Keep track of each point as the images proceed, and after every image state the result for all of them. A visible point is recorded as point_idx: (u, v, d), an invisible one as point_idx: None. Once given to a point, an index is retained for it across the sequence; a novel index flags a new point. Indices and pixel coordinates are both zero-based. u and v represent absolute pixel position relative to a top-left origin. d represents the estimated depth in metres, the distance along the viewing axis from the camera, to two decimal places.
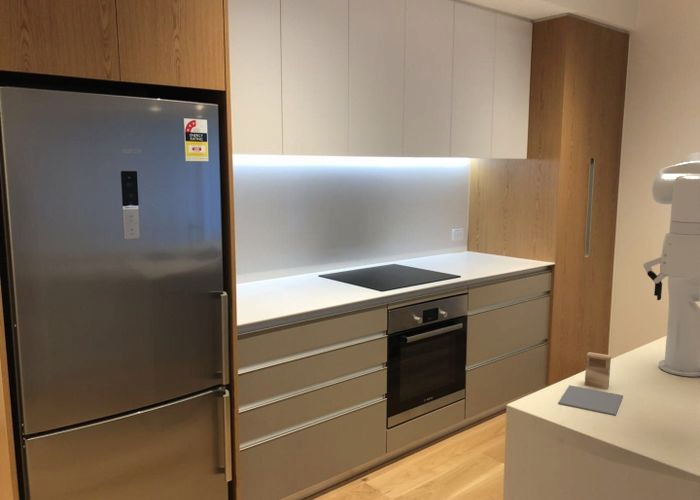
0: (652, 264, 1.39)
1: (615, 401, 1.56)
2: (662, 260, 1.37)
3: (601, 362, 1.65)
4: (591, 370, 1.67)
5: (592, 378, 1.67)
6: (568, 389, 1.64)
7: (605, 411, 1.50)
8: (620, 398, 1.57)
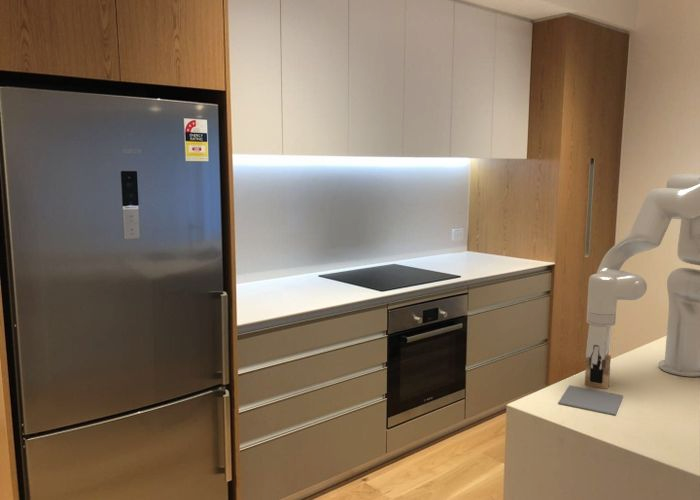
0: (598, 358, 1.62)
1: (615, 401, 1.56)
2: (604, 348, 1.61)
3: None
4: None
5: None
6: (568, 389, 1.64)
7: (605, 411, 1.50)
8: (620, 398, 1.57)
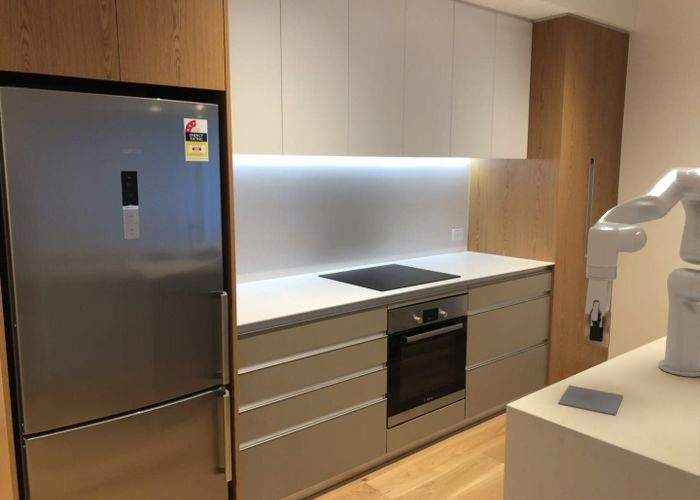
0: None
1: (615, 401, 1.56)
2: (604, 304, 1.52)
3: None
4: None
5: None
6: (568, 389, 1.64)
7: (605, 411, 1.50)
8: (620, 398, 1.57)
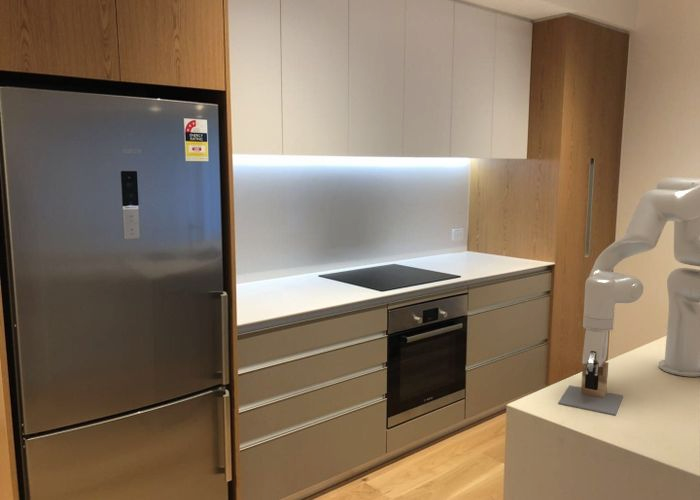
0: (594, 361, 1.53)
1: (615, 401, 1.56)
2: (601, 355, 1.54)
3: (598, 369, 1.58)
4: None
5: None
6: (568, 389, 1.64)
7: (605, 411, 1.50)
8: (620, 398, 1.57)
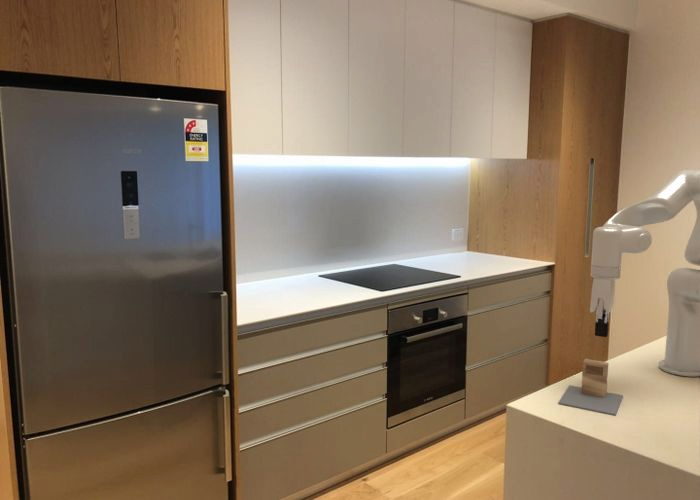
0: (602, 312, 1.60)
1: (615, 401, 1.56)
2: (608, 302, 1.58)
3: (598, 369, 1.58)
4: (588, 378, 1.60)
5: (589, 386, 1.60)
6: (568, 389, 1.64)
7: (605, 411, 1.50)
8: (620, 398, 1.57)
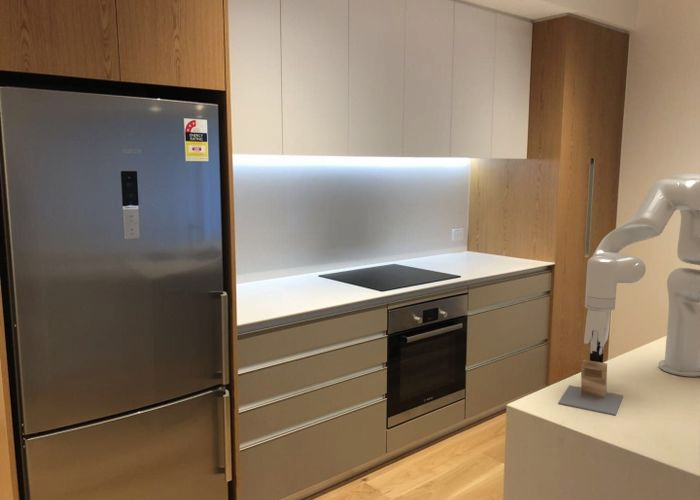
0: (597, 344, 1.56)
1: (615, 401, 1.56)
2: (603, 334, 1.54)
3: (597, 372, 1.56)
4: (587, 379, 1.59)
5: (588, 387, 1.59)
6: (568, 389, 1.64)
7: (605, 411, 1.50)
8: (620, 398, 1.57)
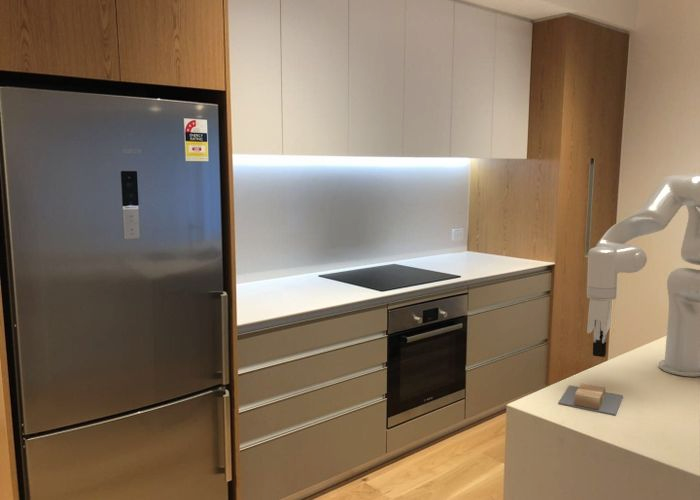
0: (600, 333, 1.59)
1: (615, 401, 1.56)
2: (605, 323, 1.58)
3: None
4: None
5: None
6: (568, 389, 1.64)
7: (605, 411, 1.50)
8: (620, 398, 1.57)
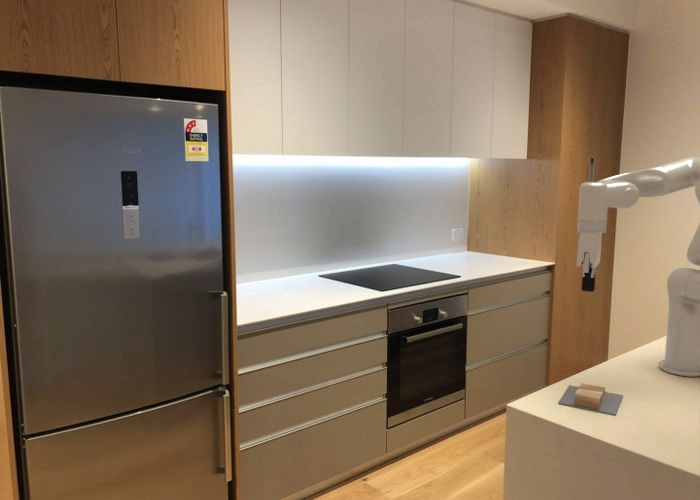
0: (589, 266, 1.61)
1: (615, 401, 1.56)
2: (594, 255, 1.60)
3: None
4: None
5: None
6: (568, 389, 1.64)
7: (605, 411, 1.50)
8: (620, 398, 1.57)
